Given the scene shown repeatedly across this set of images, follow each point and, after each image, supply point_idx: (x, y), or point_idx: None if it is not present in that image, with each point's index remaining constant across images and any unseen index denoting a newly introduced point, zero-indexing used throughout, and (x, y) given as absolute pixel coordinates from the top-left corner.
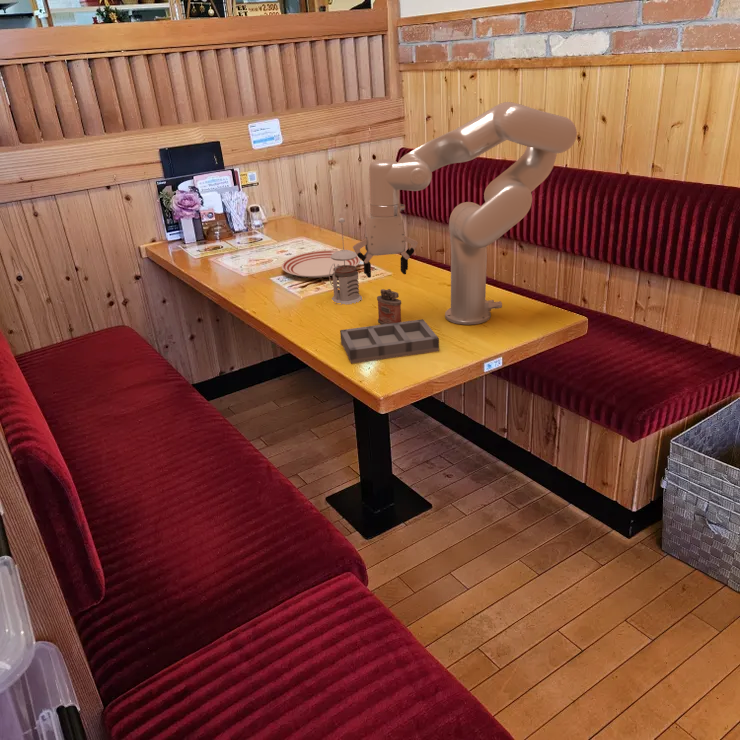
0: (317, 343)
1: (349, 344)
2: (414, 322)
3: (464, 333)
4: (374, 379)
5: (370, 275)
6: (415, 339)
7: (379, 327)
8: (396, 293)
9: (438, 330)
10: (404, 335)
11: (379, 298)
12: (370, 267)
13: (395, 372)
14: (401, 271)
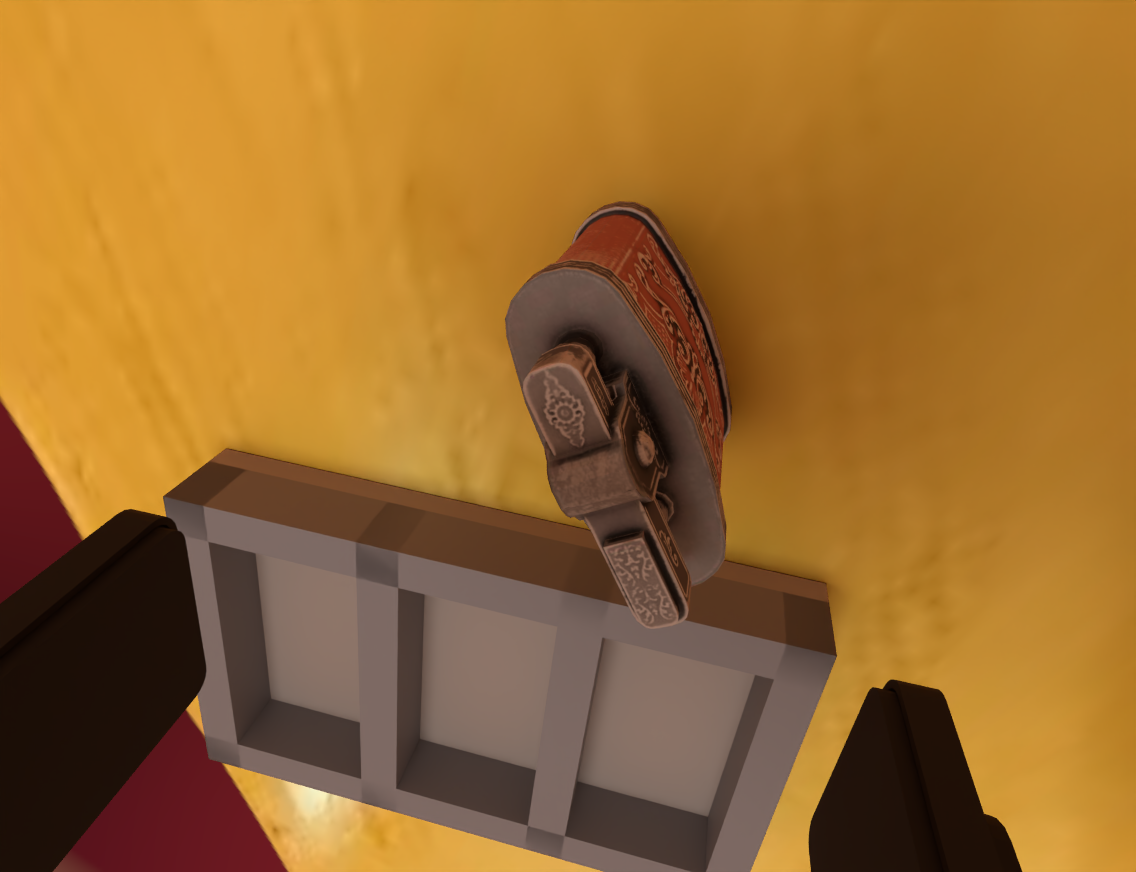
0: (78, 381)
1: (209, 703)
2: (733, 668)
3: (1068, 753)
4: (332, 847)
5: (178, 706)
6: (595, 850)
7: (446, 597)
8: (652, 628)
9: (941, 626)
10: (557, 782)
11: (522, 365)
12: (64, 847)
13: (434, 853)
14: (854, 736)
